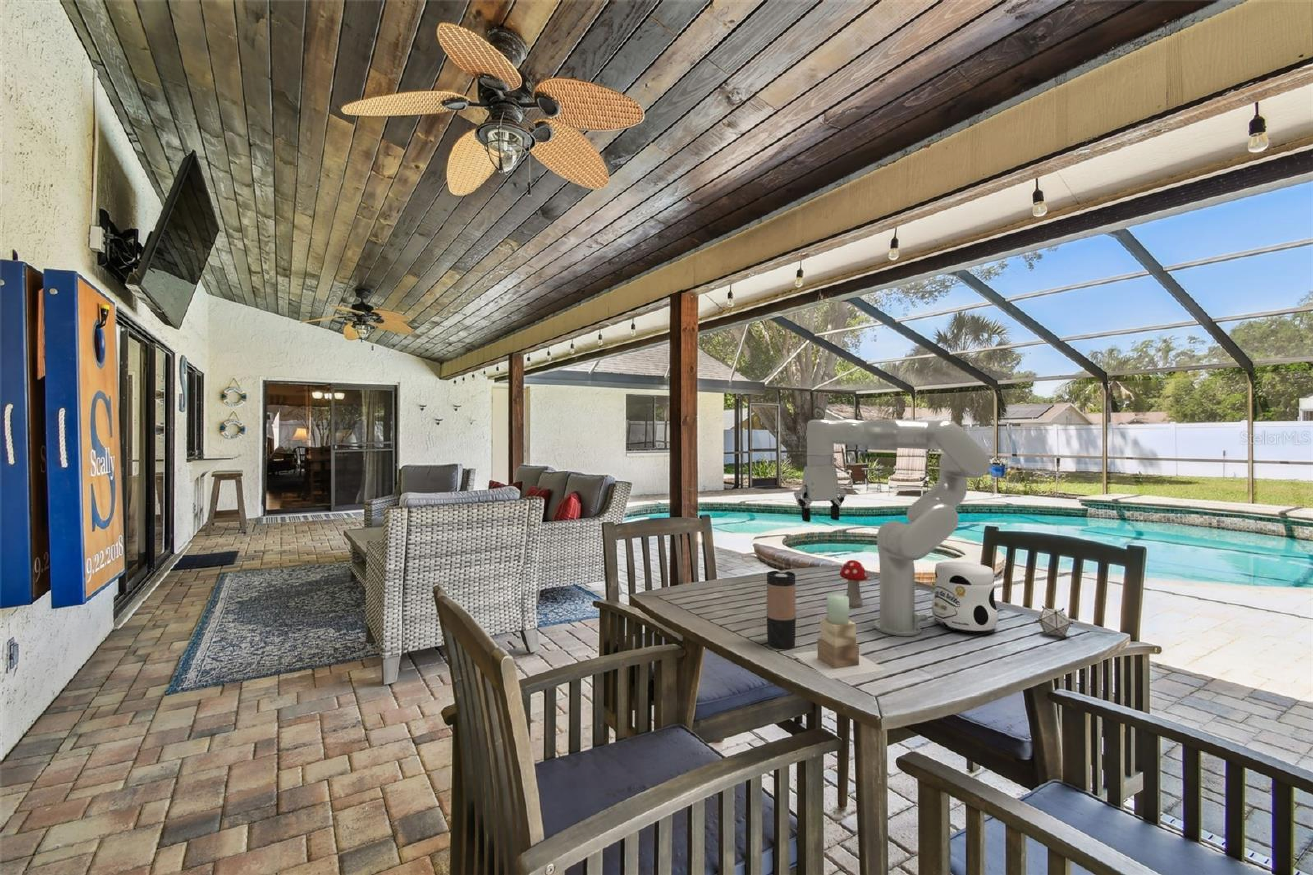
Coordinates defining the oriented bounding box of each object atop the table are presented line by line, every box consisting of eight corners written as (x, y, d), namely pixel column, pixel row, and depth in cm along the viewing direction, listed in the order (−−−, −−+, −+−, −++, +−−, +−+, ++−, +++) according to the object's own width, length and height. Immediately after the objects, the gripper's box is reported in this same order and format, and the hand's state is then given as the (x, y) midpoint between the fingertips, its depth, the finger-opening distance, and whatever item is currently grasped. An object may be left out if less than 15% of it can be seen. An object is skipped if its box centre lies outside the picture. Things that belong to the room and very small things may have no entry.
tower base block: (841, 654, 147) (840, 635, 147) (858, 665, 140) (858, 644, 140) (817, 658, 144) (817, 638, 144) (834, 668, 138) (834, 648, 138)
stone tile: (844, 650, 152) (844, 646, 152) (886, 673, 137) (886, 669, 137) (792, 658, 147) (792, 654, 147) (829, 683, 132) (829, 678, 132)
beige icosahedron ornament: (1057, 647, 164) (1077, 619, 164) (1064, 646, 157) (1084, 616, 157) (1025, 627, 169) (1044, 599, 169) (1030, 624, 161) (1050, 595, 162)
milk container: (923, 628, 170) (923, 567, 170) (941, 614, 183) (941, 558, 183) (990, 642, 158) (990, 577, 158) (1003, 626, 171) (1003, 566, 171)
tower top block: (840, 636, 146) (840, 616, 146) (855, 644, 140) (855, 623, 140) (820, 638, 144) (820, 618, 144) (835, 647, 138) (835, 626, 138)
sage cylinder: (840, 617, 145) (840, 593, 145) (853, 623, 140) (853, 598, 140) (822, 619, 144) (822, 595, 144) (835, 625, 139) (835, 600, 139)
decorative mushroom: (873, 608, 190) (873, 563, 190) (849, 609, 188) (849, 564, 188) (857, 600, 199) (857, 556, 199) (834, 601, 198) (834, 557, 198)
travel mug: (779, 655, 149) (779, 578, 149) (760, 646, 156) (760, 572, 156) (801, 650, 152) (801, 575, 152) (783, 641, 159) (782, 569, 159)
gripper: (837, 460, 174) (837, 517, 174) (787, 461, 168) (787, 520, 168) (853, 461, 167) (853, 520, 167) (801, 462, 161) (802, 523, 161)
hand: (820, 520), depth 167 cm, fingers open, 9 cm apart
